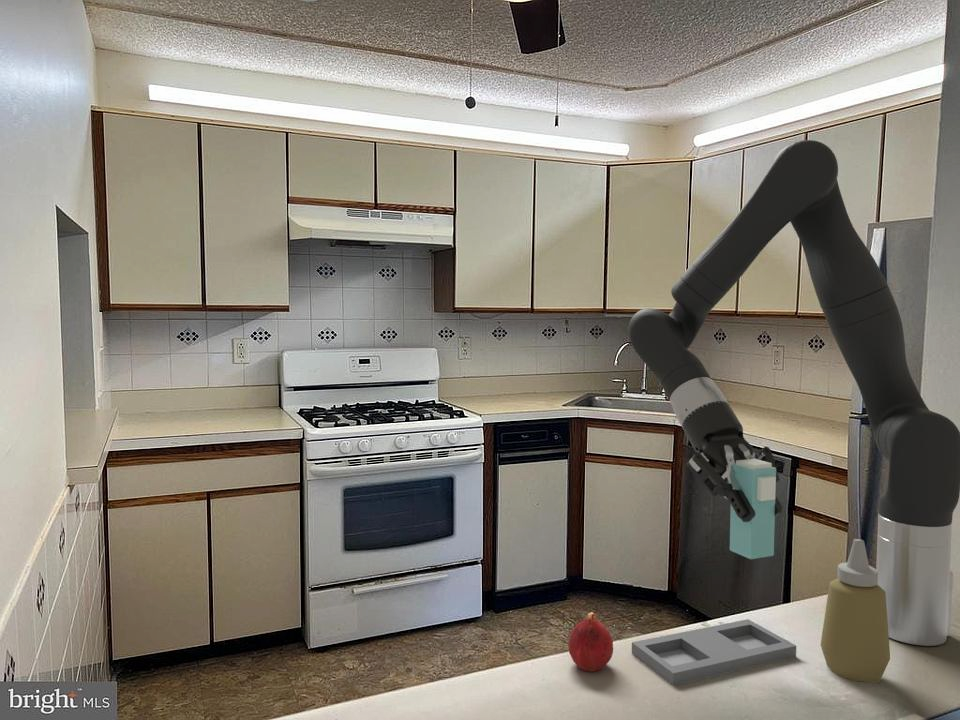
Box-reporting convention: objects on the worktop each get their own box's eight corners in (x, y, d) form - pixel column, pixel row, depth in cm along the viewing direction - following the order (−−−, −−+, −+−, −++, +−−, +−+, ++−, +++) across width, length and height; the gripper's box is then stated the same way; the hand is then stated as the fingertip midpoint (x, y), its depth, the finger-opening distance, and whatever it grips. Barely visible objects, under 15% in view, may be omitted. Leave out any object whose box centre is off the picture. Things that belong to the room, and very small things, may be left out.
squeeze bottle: (904, 691, 89) (910, 550, 88) (841, 694, 89) (846, 551, 88) (864, 660, 97) (869, 530, 96) (807, 662, 97) (811, 531, 96)
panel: (747, 635, 105) (748, 619, 105) (795, 663, 96) (796, 645, 96) (631, 660, 97) (631, 642, 97) (672, 692, 89) (673, 673, 89)
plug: (752, 546, 101) (754, 457, 100) (778, 557, 96) (780, 464, 95) (729, 550, 99) (731, 460, 98) (755, 561, 95) (757, 467, 94)
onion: (612, 686, 90) (613, 625, 90) (566, 682, 91) (567, 621, 91) (613, 664, 96) (614, 606, 95) (569, 660, 97) (570, 602, 97)
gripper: (677, 401, 101) (736, 508, 91) (756, 397, 106) (820, 497, 96) (653, 433, 106) (707, 537, 96) (730, 427, 112) (788, 525, 101)
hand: (763, 516), depth 96 cm, fingers closed on plug, 4 cm apart
